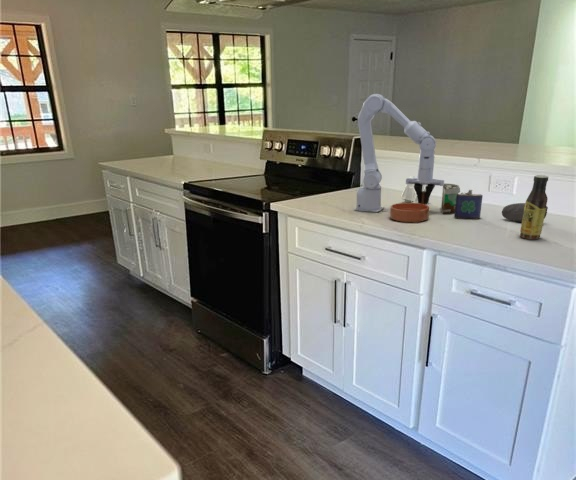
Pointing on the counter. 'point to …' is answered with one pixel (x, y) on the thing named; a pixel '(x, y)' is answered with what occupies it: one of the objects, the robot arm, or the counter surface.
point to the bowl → (409, 212)
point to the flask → (468, 205)
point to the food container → (449, 198)
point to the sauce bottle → (535, 209)
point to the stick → (423, 197)
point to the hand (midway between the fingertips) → (423, 203)
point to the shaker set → (411, 193)
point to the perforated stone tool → (515, 212)
